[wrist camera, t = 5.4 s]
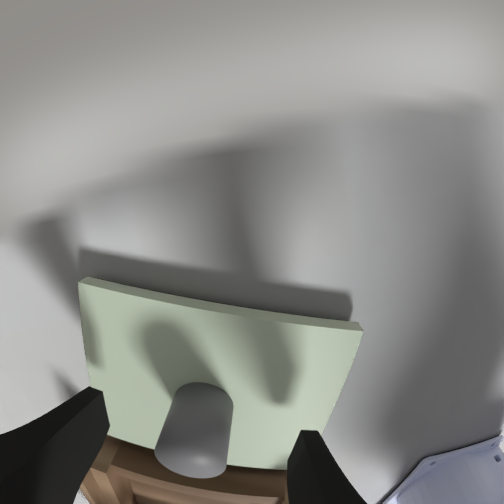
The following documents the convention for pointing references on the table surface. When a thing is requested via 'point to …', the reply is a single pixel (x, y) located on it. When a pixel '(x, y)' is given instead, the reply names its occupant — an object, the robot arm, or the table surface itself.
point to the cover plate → (211, 375)
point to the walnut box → (174, 481)
